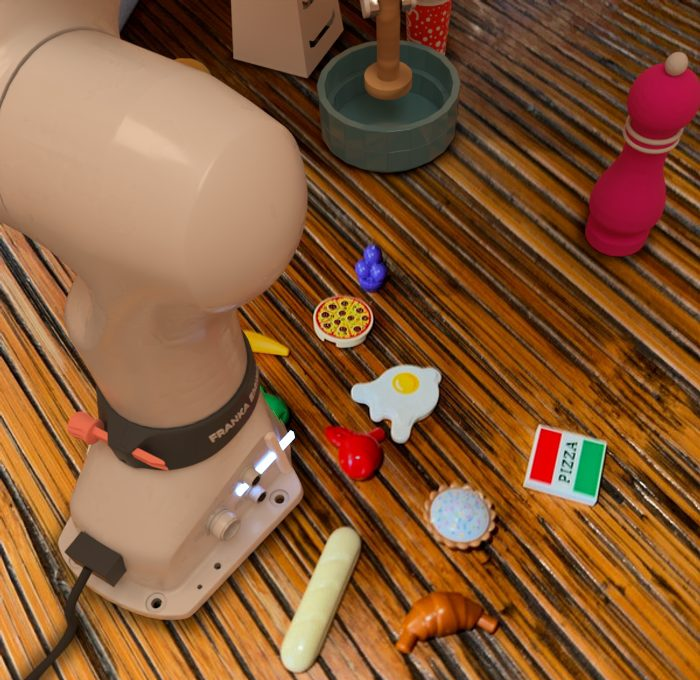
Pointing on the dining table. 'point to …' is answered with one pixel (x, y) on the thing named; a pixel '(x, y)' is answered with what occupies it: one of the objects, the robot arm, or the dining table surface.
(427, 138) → the bowl
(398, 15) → the stick
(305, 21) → the grater
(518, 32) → the dining table surface
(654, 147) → the pepper mill
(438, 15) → the beverage cup
